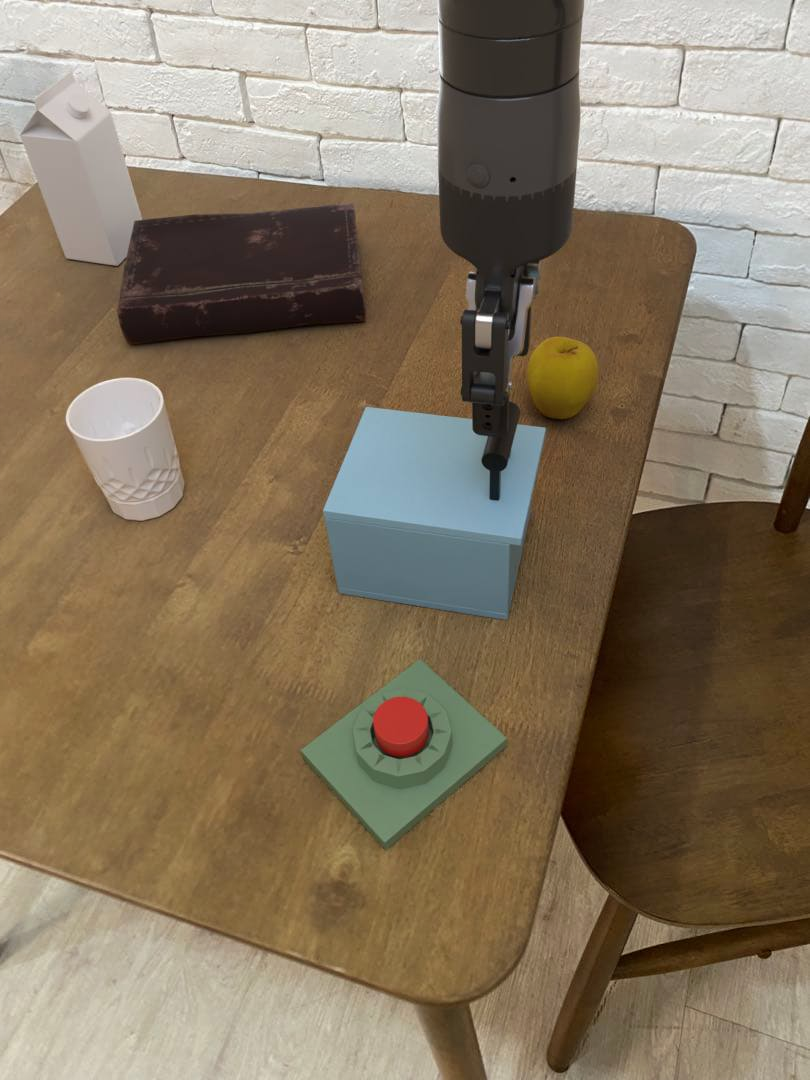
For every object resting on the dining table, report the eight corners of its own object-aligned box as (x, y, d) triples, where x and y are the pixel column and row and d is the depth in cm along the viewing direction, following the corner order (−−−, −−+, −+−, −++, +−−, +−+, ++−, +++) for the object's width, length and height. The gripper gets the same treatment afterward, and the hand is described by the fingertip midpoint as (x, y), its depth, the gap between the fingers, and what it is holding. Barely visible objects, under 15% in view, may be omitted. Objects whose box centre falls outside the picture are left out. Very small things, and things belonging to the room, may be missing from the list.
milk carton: (65, 260, 111) (4, 96, 97) (97, 229, 115) (43, 68, 101) (117, 267, 109) (63, 102, 95) (147, 235, 113) (100, 73, 99)
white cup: (134, 455, 87) (102, 369, 80) (207, 474, 85) (181, 387, 77) (85, 514, 82) (45, 428, 75) (160, 536, 80) (128, 449, 72)
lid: (545, 435, 72) (549, 377, 68) (521, 546, 65) (523, 489, 61) (366, 414, 75) (359, 357, 71) (323, 518, 68) (313, 462, 64)
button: (404, 700, 65) (403, 686, 63) (439, 734, 63) (439, 720, 61) (364, 732, 63) (361, 718, 62) (399, 767, 61) (397, 754, 60)
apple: (591, 435, 85) (600, 365, 79) (521, 429, 86) (524, 359, 80) (596, 390, 89) (604, 320, 83) (529, 385, 90) (532, 315, 84)
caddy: (530, 512, 79) (535, 434, 73) (507, 620, 72) (509, 545, 65) (376, 491, 82) (366, 414, 75) (338, 593, 75) (323, 518, 68)
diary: (366, 327, 98) (362, 285, 94) (128, 351, 98) (114, 311, 94) (357, 234, 110) (353, 194, 107) (146, 255, 110) (134, 216, 106)
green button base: (420, 667, 69) (418, 643, 67) (507, 746, 65) (508, 724, 62) (302, 758, 65) (295, 736, 63) (385, 850, 60) (382, 830, 58)
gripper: (558, 230, 45) (542, 471, 57) (592, 101, 54) (572, 332, 66) (408, 218, 47) (423, 456, 59) (465, 95, 56) (468, 322, 68)
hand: (502, 390), depth 63 cm, fingers open, 8 cm apart
